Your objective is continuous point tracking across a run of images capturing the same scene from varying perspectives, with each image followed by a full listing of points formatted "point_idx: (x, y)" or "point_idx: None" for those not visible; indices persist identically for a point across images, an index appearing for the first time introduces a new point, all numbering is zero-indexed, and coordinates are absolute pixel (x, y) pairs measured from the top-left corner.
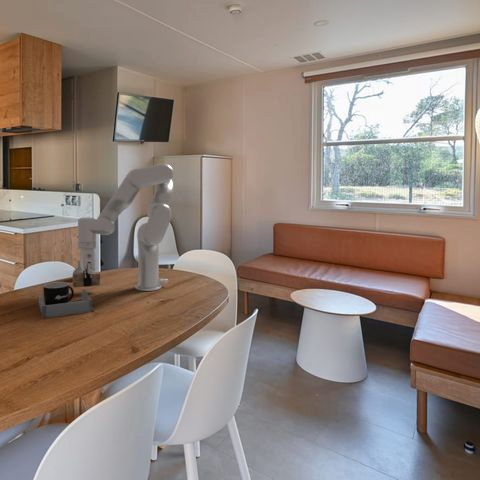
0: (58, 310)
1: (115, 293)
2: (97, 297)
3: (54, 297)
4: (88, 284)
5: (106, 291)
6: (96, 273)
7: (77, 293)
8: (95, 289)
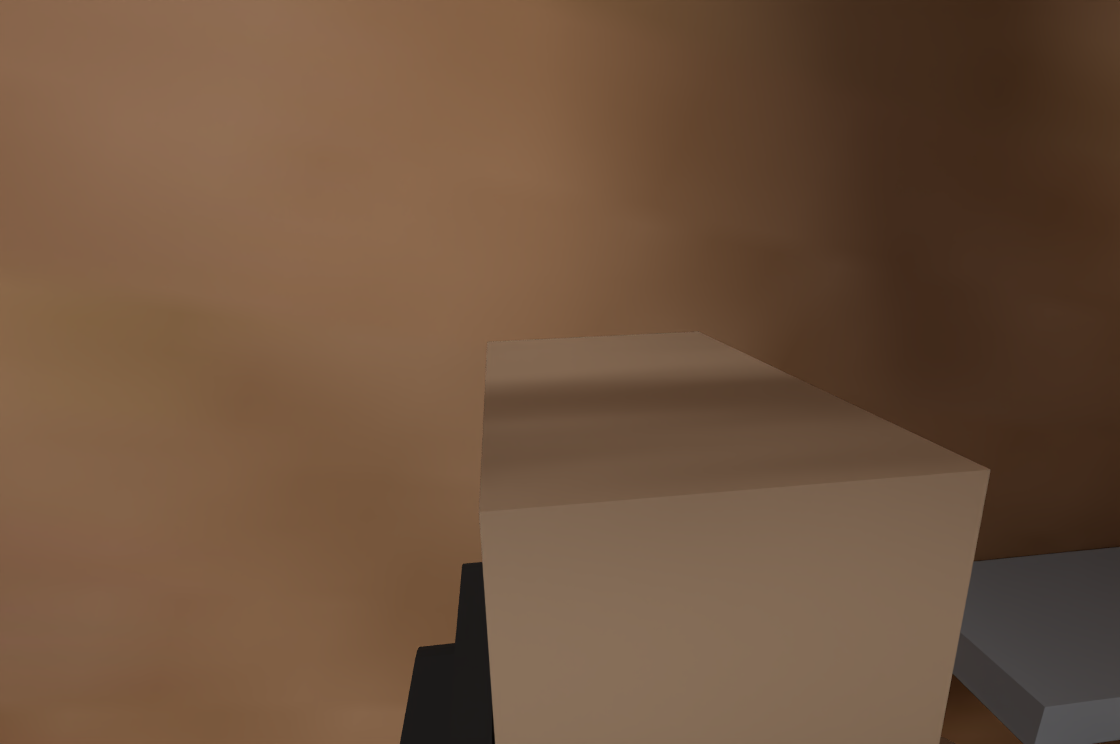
0: None
1: (836, 5)
2: (897, 387)
3: None
4: None
5: (603, 157)
6: (879, 649)
7: None
8: (360, 344)
